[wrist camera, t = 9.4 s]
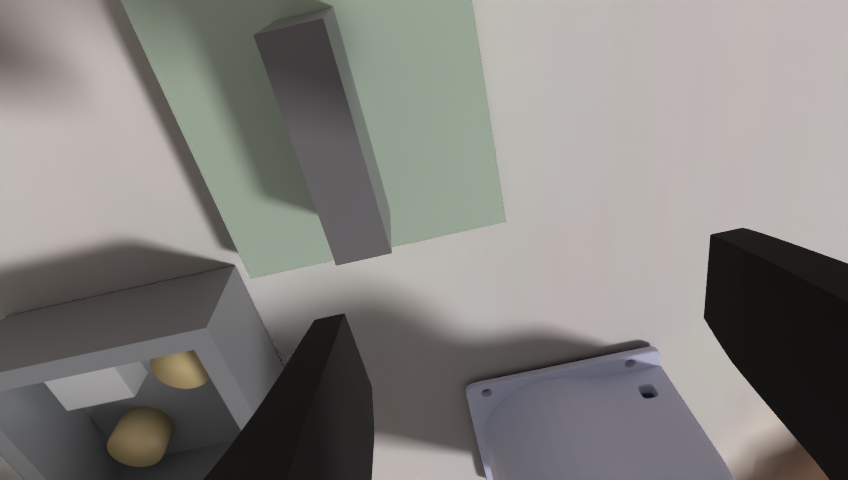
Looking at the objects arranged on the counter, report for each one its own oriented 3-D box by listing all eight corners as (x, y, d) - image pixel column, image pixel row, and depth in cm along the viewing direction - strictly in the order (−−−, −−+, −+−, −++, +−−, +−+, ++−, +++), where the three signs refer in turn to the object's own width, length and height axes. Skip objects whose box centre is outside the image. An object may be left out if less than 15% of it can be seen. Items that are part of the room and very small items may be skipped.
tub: (235, 265, 21) (206, 327, 18) (311, 426, 26) (301, 500, 23) (5, 316, 22) (-66, 386, 18) (124, 465, 27) (85, 543, 23)
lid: (451, -83, 16) (475, -94, 12) (496, 201, 21) (525, 263, 17) (145, -6, 16) (64, 10, 12) (260, 254, 21) (230, 328, 17)
